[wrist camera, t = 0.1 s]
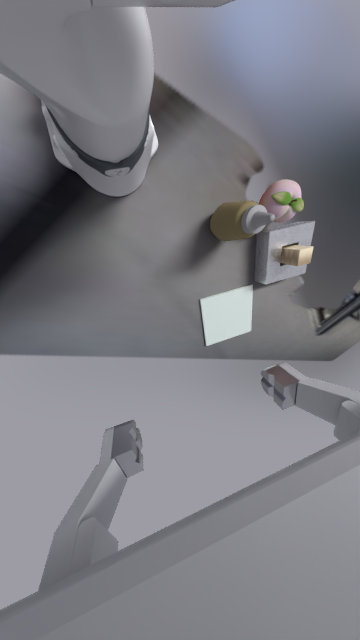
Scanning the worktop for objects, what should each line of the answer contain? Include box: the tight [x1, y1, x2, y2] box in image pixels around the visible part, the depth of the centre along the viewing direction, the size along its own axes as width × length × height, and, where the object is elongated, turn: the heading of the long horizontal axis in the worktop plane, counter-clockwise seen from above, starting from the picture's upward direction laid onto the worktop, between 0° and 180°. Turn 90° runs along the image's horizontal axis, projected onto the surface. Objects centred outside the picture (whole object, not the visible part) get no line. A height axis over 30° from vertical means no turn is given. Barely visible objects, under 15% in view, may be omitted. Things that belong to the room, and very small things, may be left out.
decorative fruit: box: [259, 179, 304, 223], centre depth 40 cm, size 9×8×10 cm
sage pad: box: [200, 284, 253, 346], centre depth 57 cm, size 18×18×1 cm
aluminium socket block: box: [255, 221, 315, 285], centre depth 49 cm, size 14×14×5 cm
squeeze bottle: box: [210, 201, 275, 241], centre depth 35 cm, size 8×8×18 cm
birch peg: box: [280, 245, 313, 266], centre depth 47 cm, size 4×4×10 cm
